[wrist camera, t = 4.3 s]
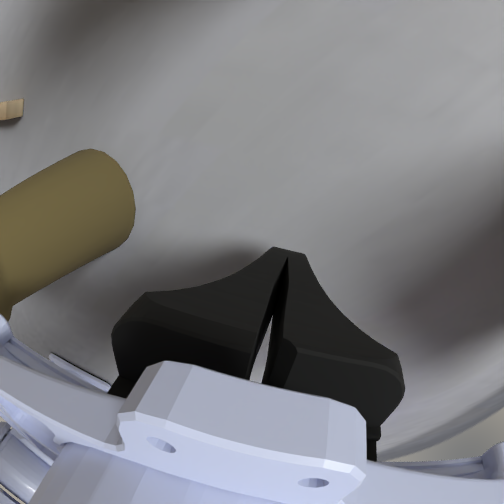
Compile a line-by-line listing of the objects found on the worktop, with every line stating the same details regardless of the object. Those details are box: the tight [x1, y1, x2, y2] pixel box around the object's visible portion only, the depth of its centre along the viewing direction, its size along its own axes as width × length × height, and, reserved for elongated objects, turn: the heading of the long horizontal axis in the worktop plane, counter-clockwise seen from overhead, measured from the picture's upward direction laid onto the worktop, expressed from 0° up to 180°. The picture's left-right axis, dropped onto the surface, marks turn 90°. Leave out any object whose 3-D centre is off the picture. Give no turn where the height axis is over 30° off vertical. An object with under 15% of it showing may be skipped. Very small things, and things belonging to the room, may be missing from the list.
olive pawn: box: [0, 149, 136, 322], centre depth 10 cm, size 6×6×11 cm
